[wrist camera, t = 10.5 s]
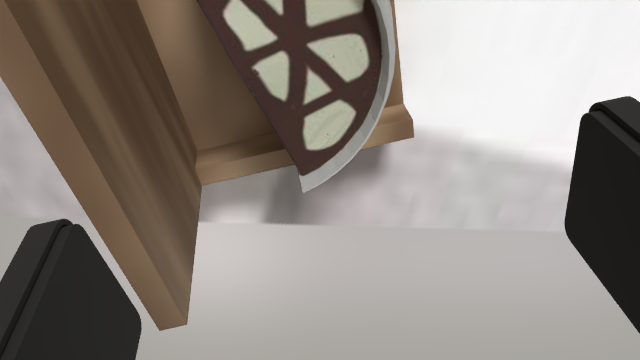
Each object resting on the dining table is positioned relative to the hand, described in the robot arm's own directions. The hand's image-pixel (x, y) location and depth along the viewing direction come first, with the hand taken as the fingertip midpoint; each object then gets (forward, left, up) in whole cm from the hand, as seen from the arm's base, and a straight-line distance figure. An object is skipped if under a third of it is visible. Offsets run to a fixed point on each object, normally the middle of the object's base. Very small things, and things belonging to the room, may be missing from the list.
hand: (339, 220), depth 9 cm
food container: (-1, 0, -19) cm, 19 cm away
